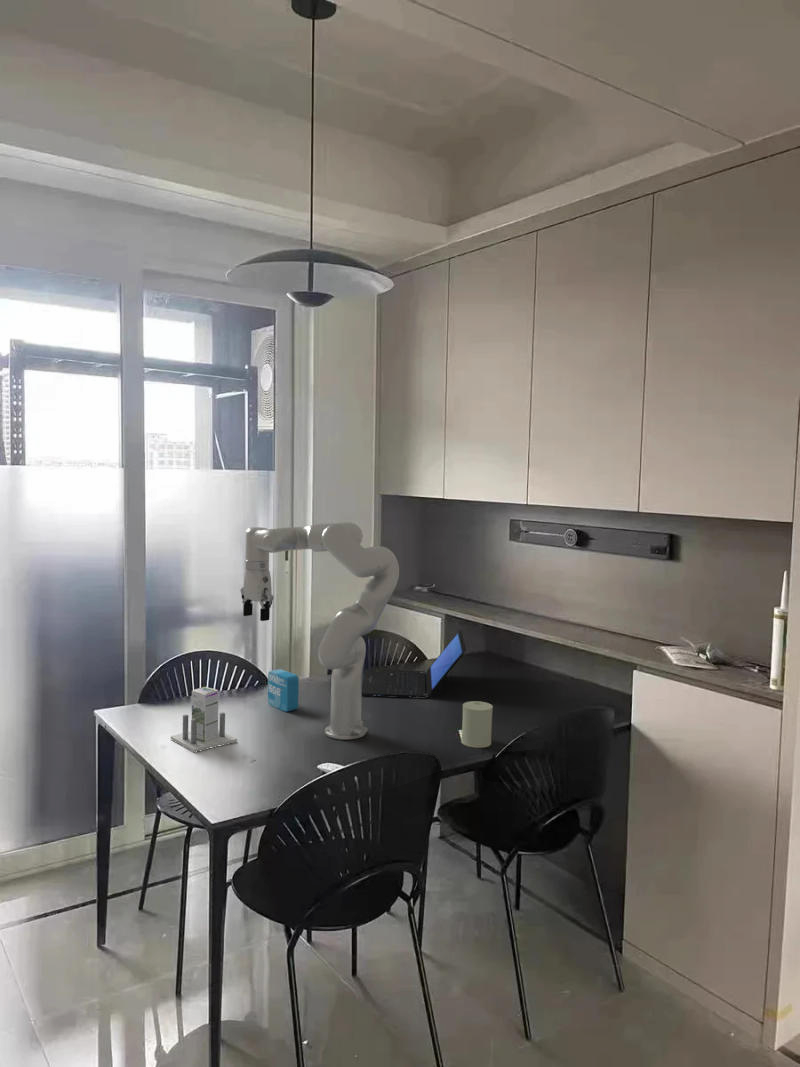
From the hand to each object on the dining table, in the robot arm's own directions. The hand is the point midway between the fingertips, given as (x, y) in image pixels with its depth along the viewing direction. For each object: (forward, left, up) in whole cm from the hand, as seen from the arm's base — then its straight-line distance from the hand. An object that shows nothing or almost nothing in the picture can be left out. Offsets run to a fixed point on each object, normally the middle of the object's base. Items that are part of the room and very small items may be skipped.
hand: (256, 618), depth 256 cm
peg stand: (-11, +25, -32) cm, 42 cm away
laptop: (-7, -66, -33) cm, 74 cm away
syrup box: (-11, +25, -32) cm, 42 cm away
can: (-63, -38, -32) cm, 80 cm away
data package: (+1, -12, -33) cm, 35 cm away
